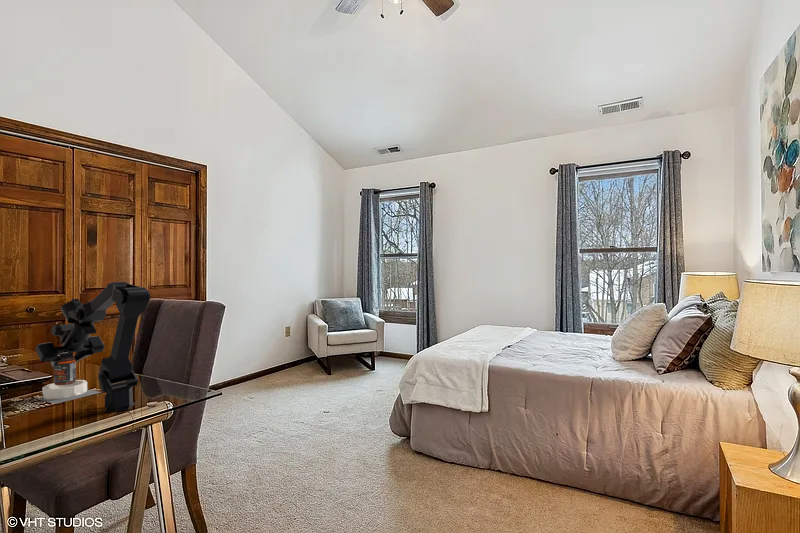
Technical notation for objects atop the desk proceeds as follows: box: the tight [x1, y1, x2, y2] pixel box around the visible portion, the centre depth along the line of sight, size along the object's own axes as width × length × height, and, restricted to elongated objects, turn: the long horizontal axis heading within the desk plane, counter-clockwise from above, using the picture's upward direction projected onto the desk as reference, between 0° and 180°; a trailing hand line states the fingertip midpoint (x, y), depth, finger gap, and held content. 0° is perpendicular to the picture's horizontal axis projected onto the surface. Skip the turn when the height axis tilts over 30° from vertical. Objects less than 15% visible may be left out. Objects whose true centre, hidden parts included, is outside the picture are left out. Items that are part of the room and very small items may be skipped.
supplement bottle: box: [53, 353, 77, 386], centre depth 151 cm, size 6×6×11 cm
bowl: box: [42, 379, 88, 400], centre depth 151 cm, size 12×12×4 cm
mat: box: [38, 388, 102, 405], centre depth 151 cm, size 18×14×1 cm
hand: (63, 364), depth 152 cm, fingers closed on supplement bottle, 6 cm apart
